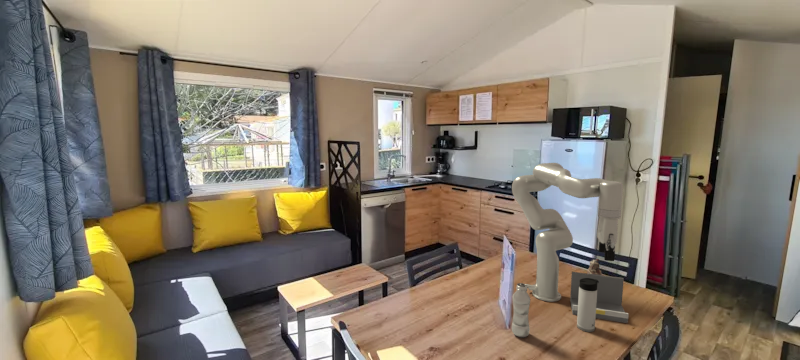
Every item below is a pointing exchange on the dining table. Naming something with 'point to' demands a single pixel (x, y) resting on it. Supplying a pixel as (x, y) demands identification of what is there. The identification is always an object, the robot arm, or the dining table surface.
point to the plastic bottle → (521, 311)
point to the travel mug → (587, 304)
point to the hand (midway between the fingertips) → (606, 256)
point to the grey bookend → (602, 296)
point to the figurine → (594, 268)
